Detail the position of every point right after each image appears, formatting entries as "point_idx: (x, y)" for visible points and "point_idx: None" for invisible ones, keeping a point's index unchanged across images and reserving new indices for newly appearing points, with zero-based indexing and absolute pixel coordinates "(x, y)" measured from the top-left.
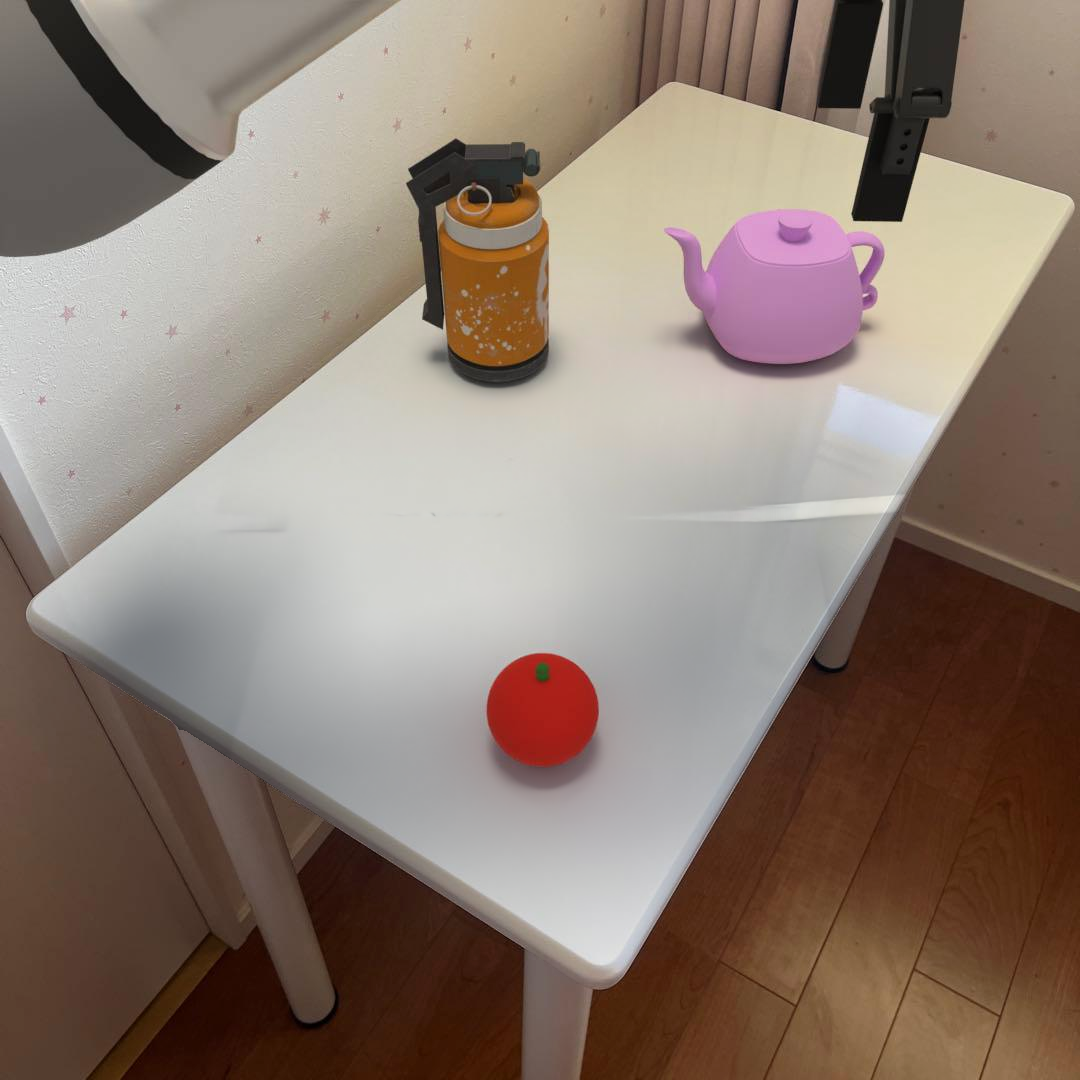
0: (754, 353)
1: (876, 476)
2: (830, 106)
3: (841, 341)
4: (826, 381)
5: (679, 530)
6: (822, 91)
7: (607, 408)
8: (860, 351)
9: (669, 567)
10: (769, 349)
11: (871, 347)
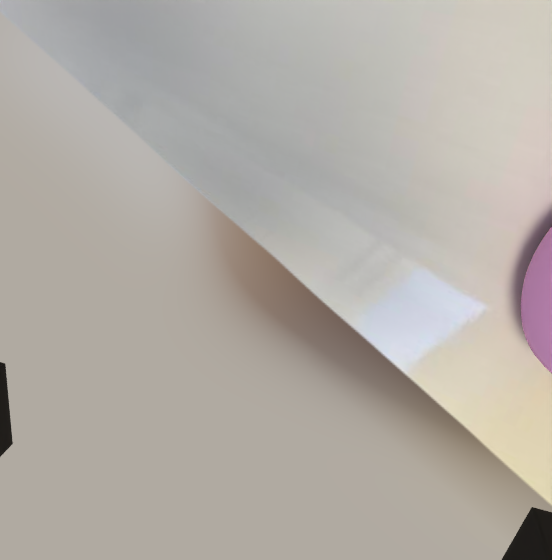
0: (549, 229)
1: (338, 285)
2: (520, 534)
3: (524, 332)
4: (496, 296)
5: (299, 57)
6: (545, 553)
7: (542, 7)
8: None
9: (247, 31)
10: (540, 248)
11: (537, 362)
